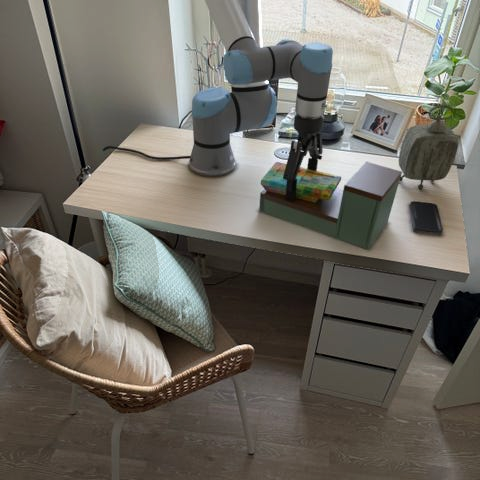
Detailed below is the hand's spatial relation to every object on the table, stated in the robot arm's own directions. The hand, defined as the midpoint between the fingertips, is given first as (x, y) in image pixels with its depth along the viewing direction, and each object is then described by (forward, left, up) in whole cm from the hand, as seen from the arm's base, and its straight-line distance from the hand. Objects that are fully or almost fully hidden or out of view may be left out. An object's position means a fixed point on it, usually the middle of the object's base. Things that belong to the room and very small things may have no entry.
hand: (300, 189), depth 134 cm
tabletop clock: (+26, +34, -6) cm, 43 cm away
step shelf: (+8, 0, -6) cm, 10 cm away
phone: (+33, +16, -6) cm, 37 cm away
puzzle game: (0, 0, 0) cm, 0 cm away
